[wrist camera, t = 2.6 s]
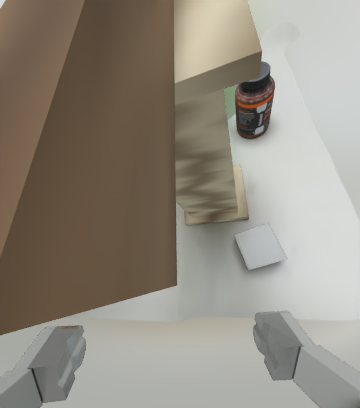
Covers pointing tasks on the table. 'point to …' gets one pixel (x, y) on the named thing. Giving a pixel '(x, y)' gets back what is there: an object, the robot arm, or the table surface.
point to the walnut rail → (85, 156)
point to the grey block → (260, 246)
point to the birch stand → (210, 104)
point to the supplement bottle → (254, 103)
